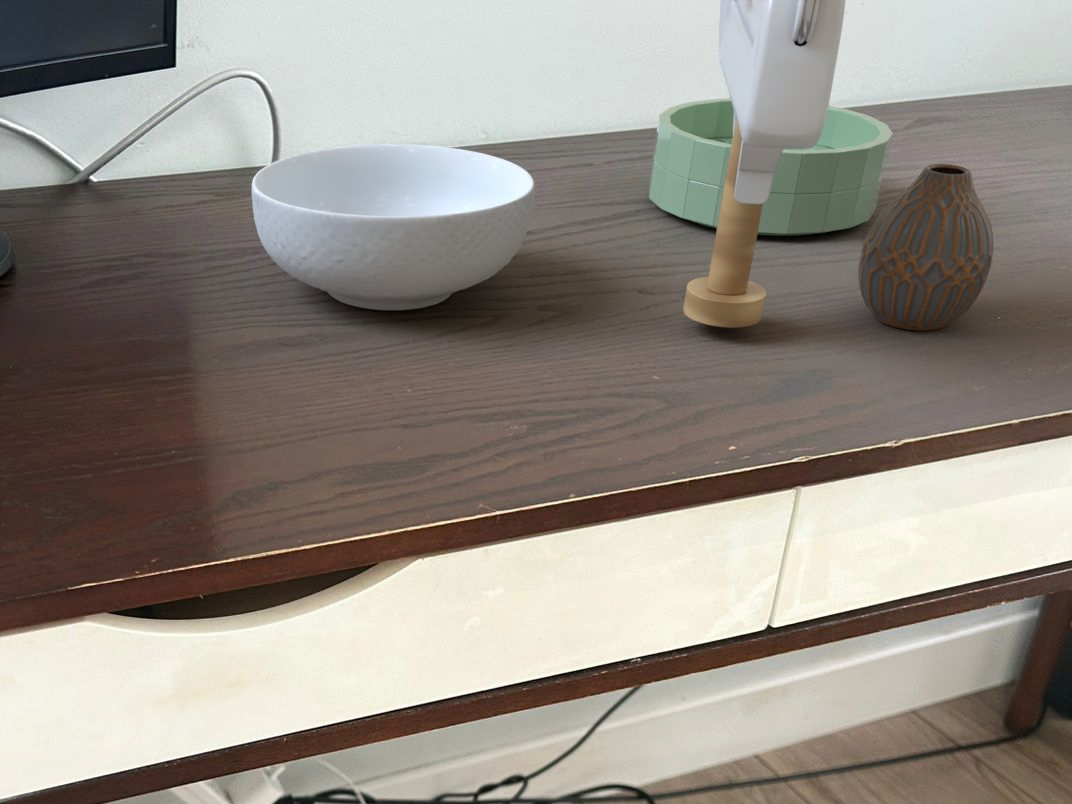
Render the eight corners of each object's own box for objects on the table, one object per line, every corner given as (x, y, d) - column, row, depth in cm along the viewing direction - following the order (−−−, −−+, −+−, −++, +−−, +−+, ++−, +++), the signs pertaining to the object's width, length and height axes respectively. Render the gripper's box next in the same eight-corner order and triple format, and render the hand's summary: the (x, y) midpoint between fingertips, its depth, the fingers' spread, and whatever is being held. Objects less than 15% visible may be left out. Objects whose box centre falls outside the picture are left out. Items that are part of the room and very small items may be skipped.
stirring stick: (758, 303, 80) (813, 19, 72) (764, 330, 77) (824, 35, 68) (681, 297, 81) (727, 17, 73) (684, 324, 78) (733, 32, 69)
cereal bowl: (508, 246, 92) (518, 139, 89) (541, 340, 78) (555, 218, 75) (258, 245, 93) (256, 139, 89) (246, 338, 79) (244, 216, 75)
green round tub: (855, 184, 104) (873, 103, 101) (887, 249, 92) (910, 158, 88) (645, 173, 107) (657, 94, 104) (649, 234, 94) (662, 146, 91)
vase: (854, 335, 79) (890, 182, 74) (841, 294, 84) (874, 149, 80) (983, 345, 77) (1028, 190, 73) (961, 303, 83) (1002, 156, 78)
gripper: (899, -60, 59) (830, 255, 66) (837, -109, 75) (788, 146, 83) (747, -63, 60) (696, 246, 67) (719, -111, 77) (681, 141, 84)
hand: (746, 190), depth 75 cm, fingers closed on stirring stick, 2 cm apart
